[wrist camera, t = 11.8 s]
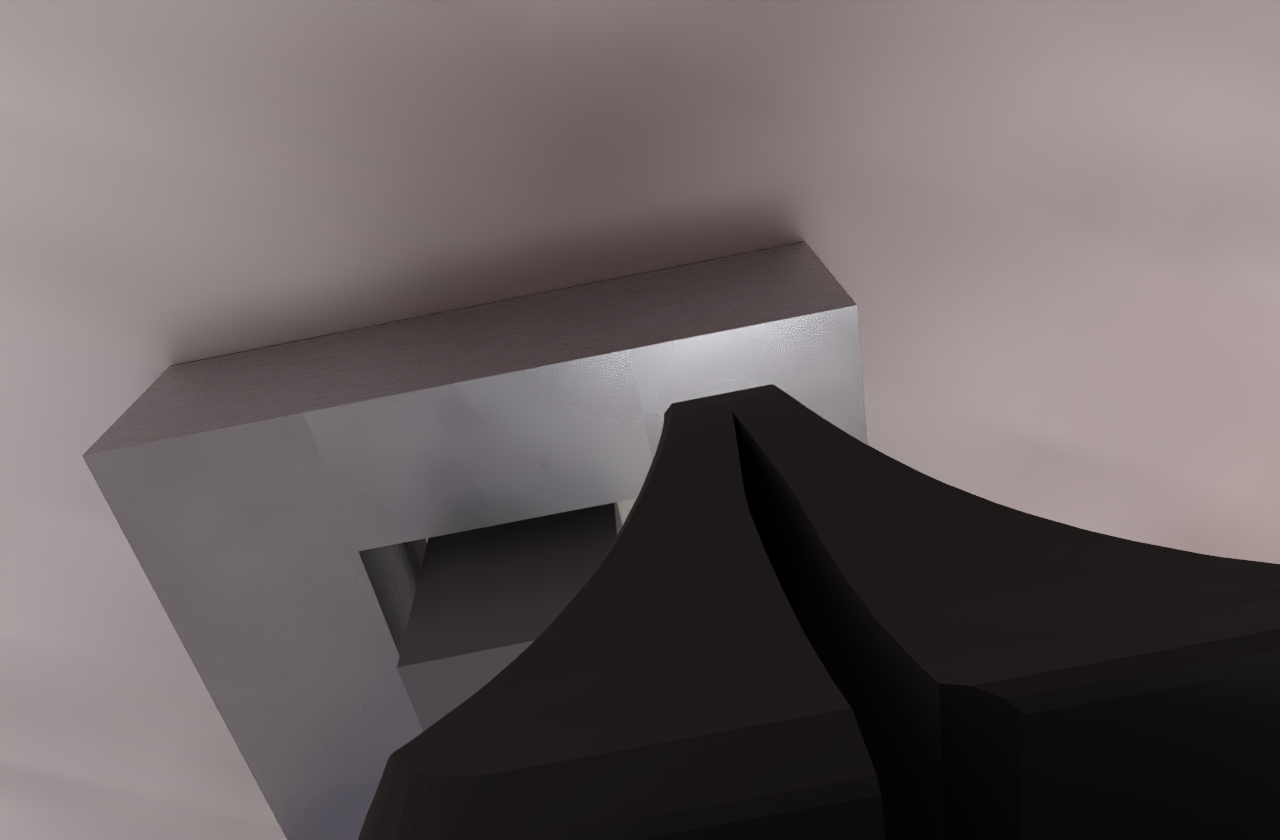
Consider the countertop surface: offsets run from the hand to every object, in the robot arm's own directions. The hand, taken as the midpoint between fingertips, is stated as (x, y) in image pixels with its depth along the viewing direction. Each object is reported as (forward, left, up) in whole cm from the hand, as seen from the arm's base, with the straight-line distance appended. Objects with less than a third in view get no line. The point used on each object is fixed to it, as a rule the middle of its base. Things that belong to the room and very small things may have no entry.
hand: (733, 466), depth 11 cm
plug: (-4, -7, -8) cm, 12 cm away
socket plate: (-4, -7, -9) cm, 12 cm away
